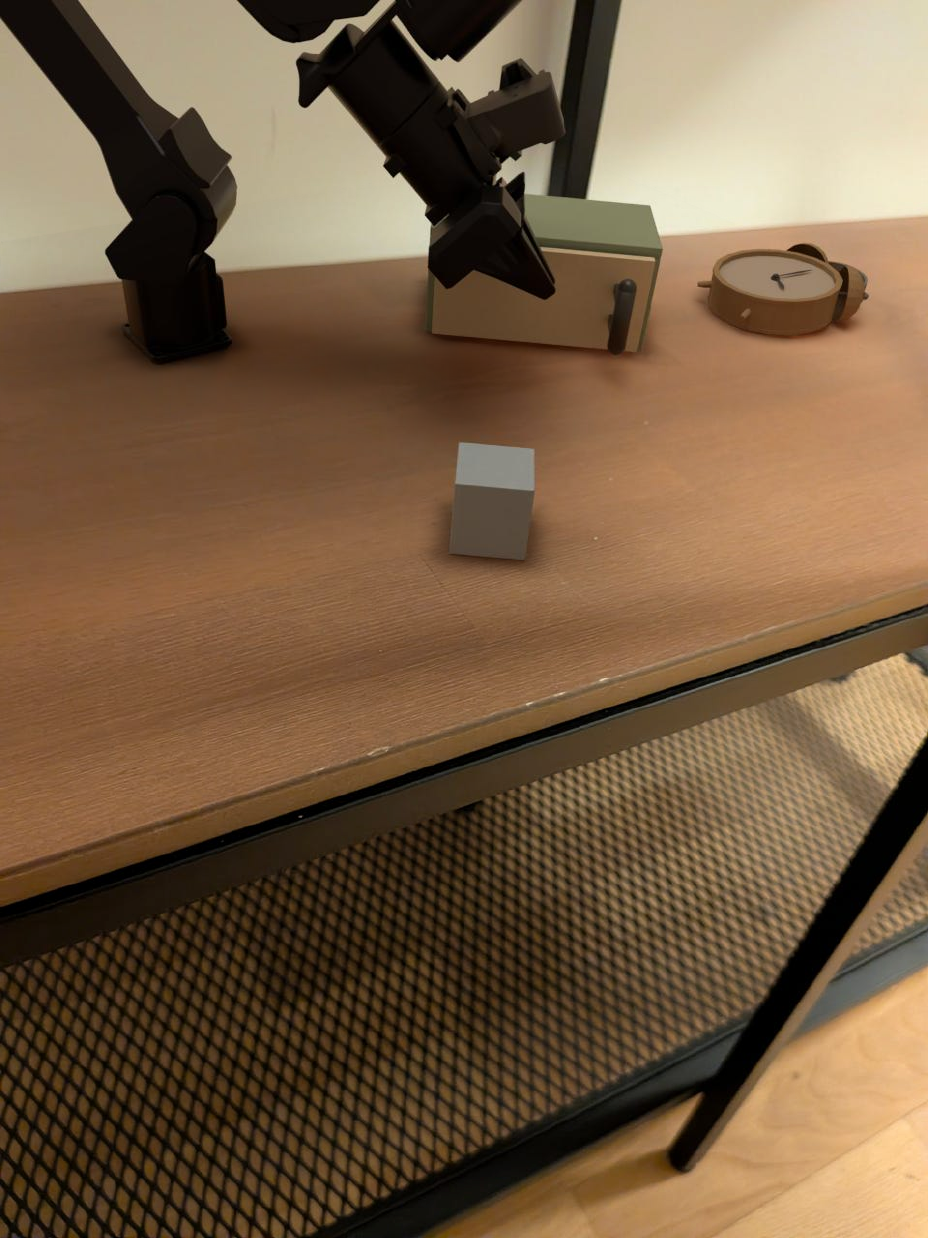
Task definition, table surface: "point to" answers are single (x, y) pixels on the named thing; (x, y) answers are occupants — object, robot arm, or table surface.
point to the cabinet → (586, 234)
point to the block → (492, 501)
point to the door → (554, 303)
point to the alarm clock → (784, 290)
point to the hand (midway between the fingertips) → (550, 290)
